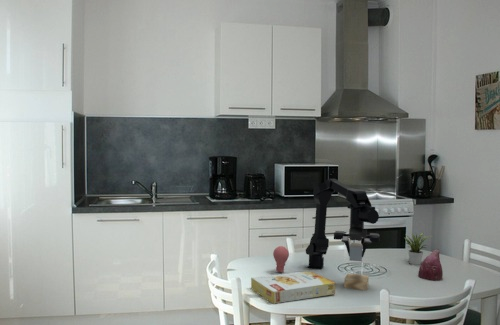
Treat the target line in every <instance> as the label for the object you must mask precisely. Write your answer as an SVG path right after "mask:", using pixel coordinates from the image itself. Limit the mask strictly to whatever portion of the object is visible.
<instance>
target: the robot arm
mask: <svg viewBox="0 0 500 325" xmlns="http://www.w3.org/2000/svg"><path fill="white" fill-rule="evenodd" d="M312 192H313V199H314V201H315V204H316V206H315V218H314V219H315V221H314V233H313V235H312V236H311V238H310V241H309V244H308V246H307V247H306V248H305V254H306V255H308V266H307V268H308V269H317V270H321V269H323V267H324V263H325V257H324V255H327V252H328V249H329V242H330V240H329V238H327V236H326V224H327V212H328V211H327V209H328V204H329V202H330V201H331V199H332V194H333V193H335V192H336V193H338V194H340V195H342V196H343V197H345V200H346V201H347V203H349V205H348V206H347V207H346V208H347V209H350V212H349V213H350V216H349V230H348V233H345V231H342V230H335V232H334V233H333V240H336V241H337V240H338V241H341V242H342V243H343V244H344V245H345V247H346V250H347V254H348V256H349V257H350V244H351V242H350V241H358V242H360V241H362V240H364V241H363V244H362V245H363V248H362V258H363V257H364V255H365V252H366V249H367V248H368V245H371V244H372V243H380V234H379V233H377V232H376V233H374V232H370V233H369V234H367V232H368V229H367V228H364V227H365V223H368V224H372V225H373V224H376V223H377V222H378V221H379V219H380V214H379V212H378V211H377V210H376V206H372V204H371V201H370V198H369V196H368V194H367V192H366V191H365V190H363V189H360V188H352V187H351V186H349V185H347V184H345V183H343V182H342V181H340V180H338V179H337V178H329V179H326V180H325V181H323V182H321V183H319V184H318V185H315V186H314V188H313V191H312Z"/></svg>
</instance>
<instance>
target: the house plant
mask: <svg viewBox="0 0 500 325" xmlns="http://www.w3.org/2000/svg"><path fill="white" fill-rule="evenodd" d="M410 234H411V237H412V238H413V239H412V238H411V237H410V236H409V235H407V234H406V233H405V234H404V235H406V236H407V237H406V236H405V237H404V239H405V241H406V242H405V243H404V245H405V244H406V245H408V246H407V247H408V248H410V249H409V250H408V260H409V264H410V265H415V266H421V264H422V261H423V255H424V251H423V250H422V249H427V248H428V247H429V246H428V245H427V244H423V243H424V241H425V240H427V239H428V238H430V237H432V235H429V236H426V235H425V234H424V233H423V232H422V233H420V235H419V236H418V234H417V233H415V235H414V233H413V232H410ZM423 234H424V235H423ZM422 244H423V245H422ZM427 246H428V247H427Z"/></svg>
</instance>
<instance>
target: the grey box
mask: <svg viewBox="0 0 500 325" xmlns="http://www.w3.org/2000/svg"><path fill="white" fill-rule="evenodd" d="M363 245H364V244H363V243H360V242H350V256H349V261H354V262H363V257H362V251H363Z"/></svg>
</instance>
